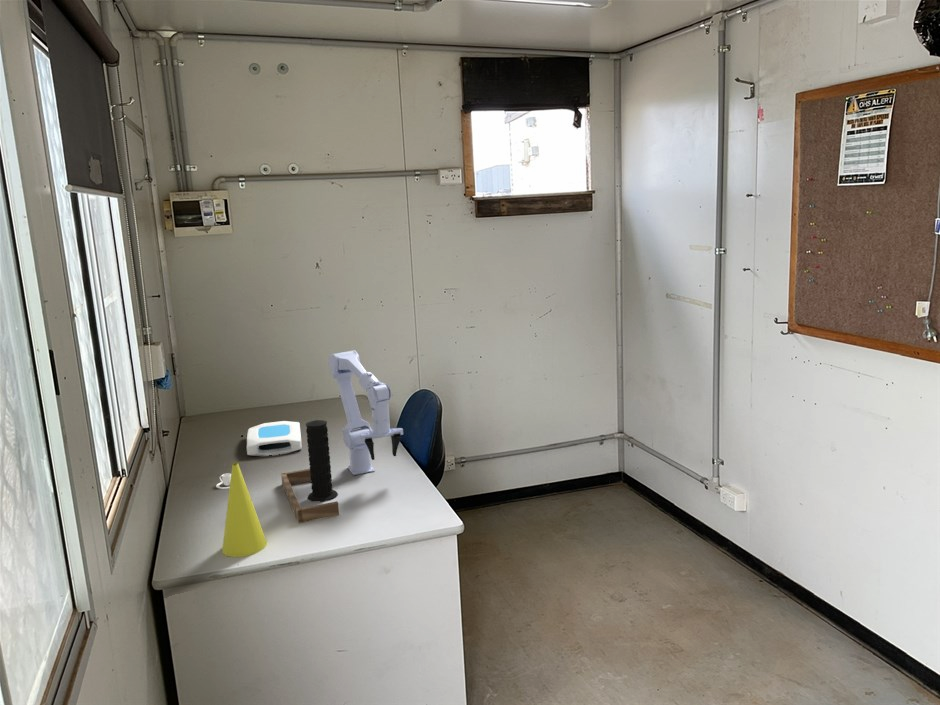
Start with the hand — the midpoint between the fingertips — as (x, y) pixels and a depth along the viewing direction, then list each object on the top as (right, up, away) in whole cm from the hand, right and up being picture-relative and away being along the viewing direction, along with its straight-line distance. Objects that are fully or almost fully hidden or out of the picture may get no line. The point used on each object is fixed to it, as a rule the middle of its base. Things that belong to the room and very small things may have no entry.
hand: (383, 457), depth 247 cm
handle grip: (-20, -12, -7) cm, 24 cm away
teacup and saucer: (-55, -12, +5) cm, 56 cm away
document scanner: (-51, -3, +50) cm, 72 cm away
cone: (-35, -20, -42) cm, 58 cm away
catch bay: (-24, -12, -9) cm, 28 cm away
